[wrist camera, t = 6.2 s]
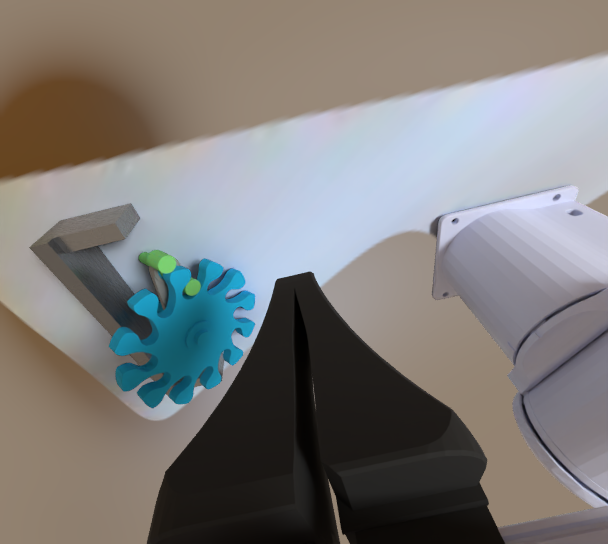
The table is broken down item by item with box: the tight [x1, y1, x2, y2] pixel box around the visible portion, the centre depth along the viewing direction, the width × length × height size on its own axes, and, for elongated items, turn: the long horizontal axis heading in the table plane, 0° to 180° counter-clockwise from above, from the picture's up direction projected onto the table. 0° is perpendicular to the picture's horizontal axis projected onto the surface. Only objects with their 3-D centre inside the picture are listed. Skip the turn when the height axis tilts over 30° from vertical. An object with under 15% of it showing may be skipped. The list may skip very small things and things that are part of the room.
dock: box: [29, 204, 224, 398], centre depth 21 cm, size 4×16×3 cm, turn 12°
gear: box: [109, 250, 255, 408], centre depth 21 cm, size 11×6×10 cm
